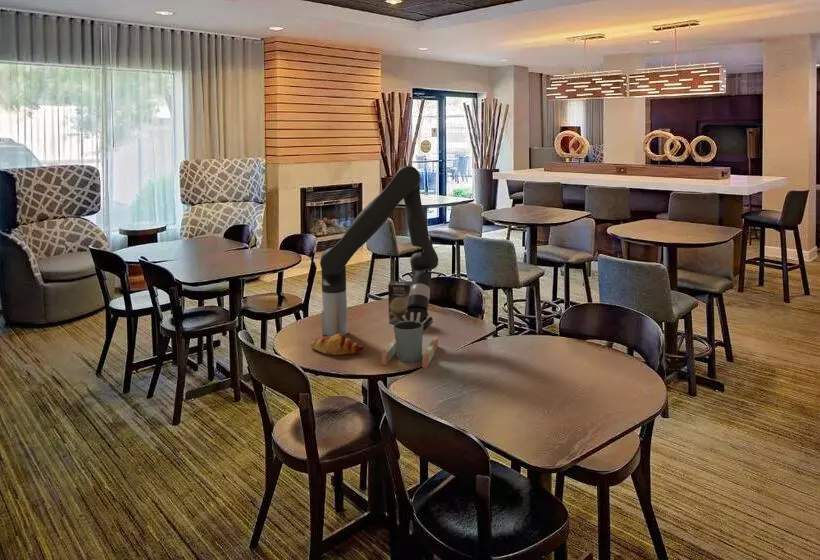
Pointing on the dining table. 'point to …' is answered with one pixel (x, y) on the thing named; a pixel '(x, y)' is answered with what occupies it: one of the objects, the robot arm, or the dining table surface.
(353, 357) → the dining table surface
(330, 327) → the robot arm
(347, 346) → the croissant
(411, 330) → the grey green cup
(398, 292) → the coffee box
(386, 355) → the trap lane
